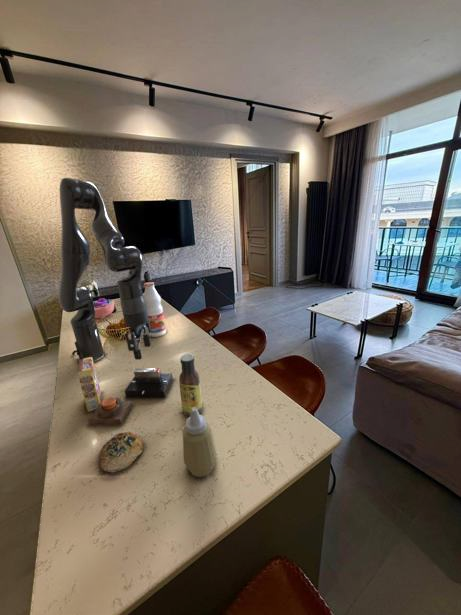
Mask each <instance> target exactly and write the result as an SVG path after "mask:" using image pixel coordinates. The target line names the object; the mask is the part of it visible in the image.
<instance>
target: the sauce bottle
mask: <svg viewBox="0 0 461 615" xmlns="http://www.w3.org/2000/svg"><path fill="white" fill-rule="evenodd" d="M180 365H181V372H180V374H179V379H178V380H179V381H178V382H179V392H180V393H179V394H180V401H181V408H182V412H183V414H184V415H185V416H187V417H191V409H192V408H193V407H196V408H197V410H198V413H199V414H201V412H202V409H203V407H202V405H203V402H202V401H203V400H202V391H201V380H200V374H199V372H198V371H197V369H196V367H195V356H194V355H193V354H191V353H187V354H183V355H181V357H180Z"/></svg>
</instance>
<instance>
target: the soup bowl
mask: <svg viewBox="0 0 461 615" xmlns="http://www.w3.org/2000/svg"><path fill="white" fill-rule="evenodd" d="M93 303H94V309H95V319H103V318H105V317H107V316H110V315H111V314H112V313H113V312H114V310H115V300H114V299H111V298H110V299H109V298H108V299H106V298H105V297H99V298H98V300H95V301H94V300H93Z"/></svg>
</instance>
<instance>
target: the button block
mask: <svg viewBox="0 0 461 615" xmlns="http://www.w3.org/2000/svg"><path fill="white" fill-rule="evenodd" d="M114 398H115V400H116V403H117V404H116V406H115V407H114V408H113V409H110V410H103V407H102V402H103V401H104V400H101V403H100V405H99V406H98V407H97V409H96V410H93V412H92V414H90V417H89V418H88V422H89V425H101V426H102V425H107V426H108V425H109V426H111V425H115V426H116V425H117V426H119V425H120V426H121V425H122V424H123V423H124V422H125V420H126V418H127V416H128V415H129V413H130V411H131V409H132V407H133V403H132V400H122V399H121V398H119V397H114Z"/></svg>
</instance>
